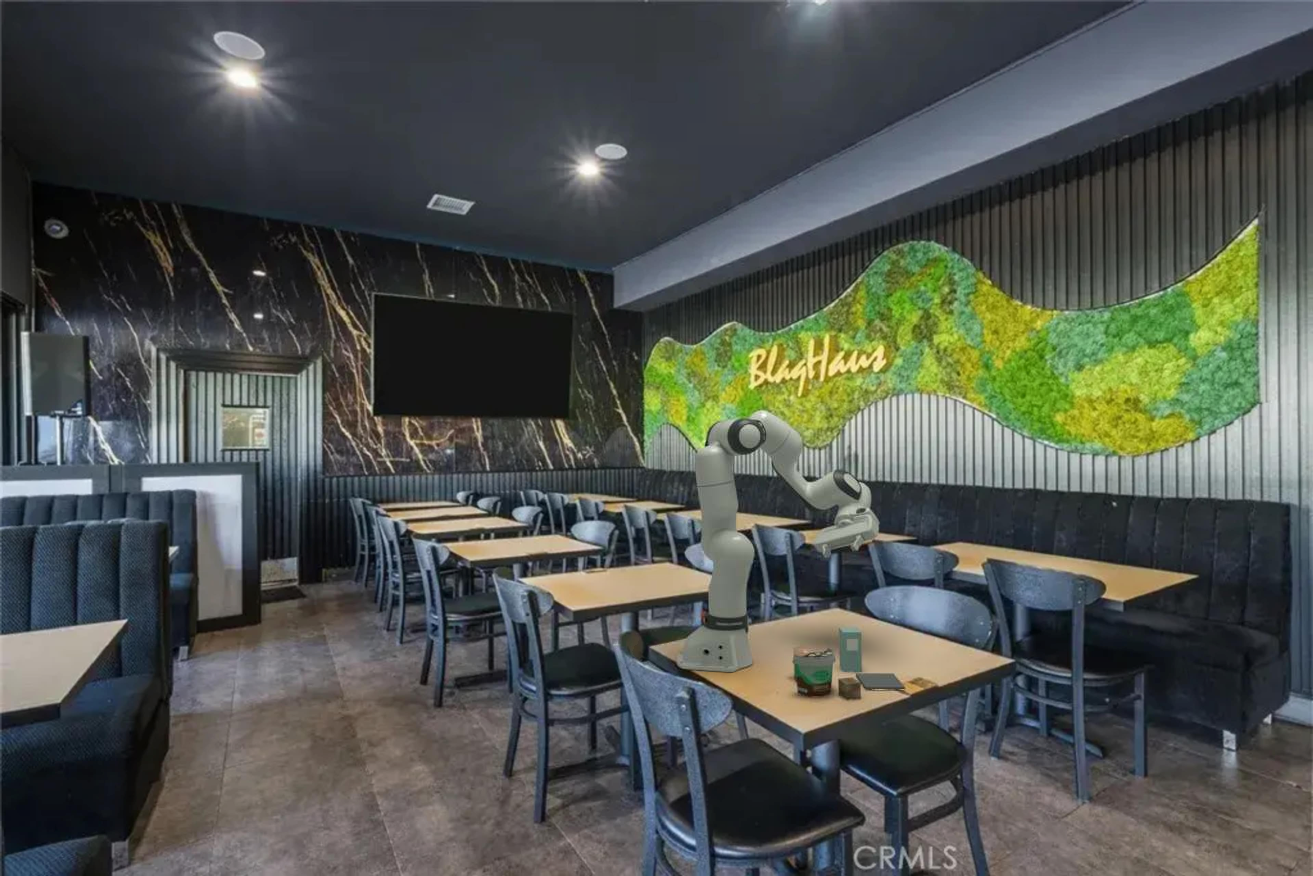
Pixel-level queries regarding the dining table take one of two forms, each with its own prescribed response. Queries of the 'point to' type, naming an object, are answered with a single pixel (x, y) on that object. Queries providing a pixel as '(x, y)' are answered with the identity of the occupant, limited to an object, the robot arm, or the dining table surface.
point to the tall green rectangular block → (850, 649)
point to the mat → (879, 681)
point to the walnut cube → (849, 688)
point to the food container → (814, 673)
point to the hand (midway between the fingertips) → (839, 552)
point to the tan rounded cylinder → (802, 653)
